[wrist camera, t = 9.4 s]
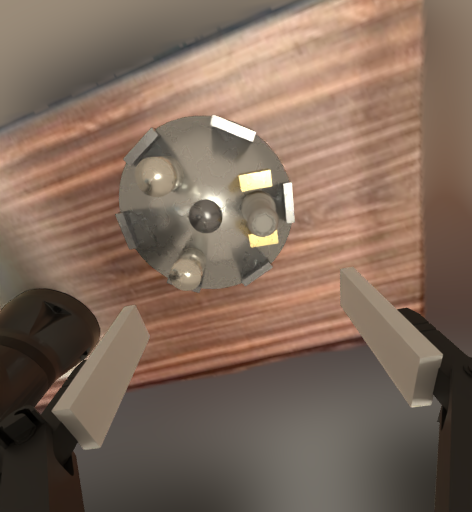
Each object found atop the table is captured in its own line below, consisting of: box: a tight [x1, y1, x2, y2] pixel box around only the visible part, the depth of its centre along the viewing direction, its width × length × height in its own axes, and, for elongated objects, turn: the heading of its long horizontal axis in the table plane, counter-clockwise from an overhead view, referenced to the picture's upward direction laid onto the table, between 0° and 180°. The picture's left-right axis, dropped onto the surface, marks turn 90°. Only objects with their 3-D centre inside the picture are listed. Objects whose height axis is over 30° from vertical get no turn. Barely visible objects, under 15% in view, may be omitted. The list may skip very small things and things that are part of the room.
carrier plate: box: [115, 115, 295, 293], centre depth 29 cm, size 23×23×6 cm
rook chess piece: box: [241, 190, 279, 237], centre depth 27 cm, size 4×4×8 cm
